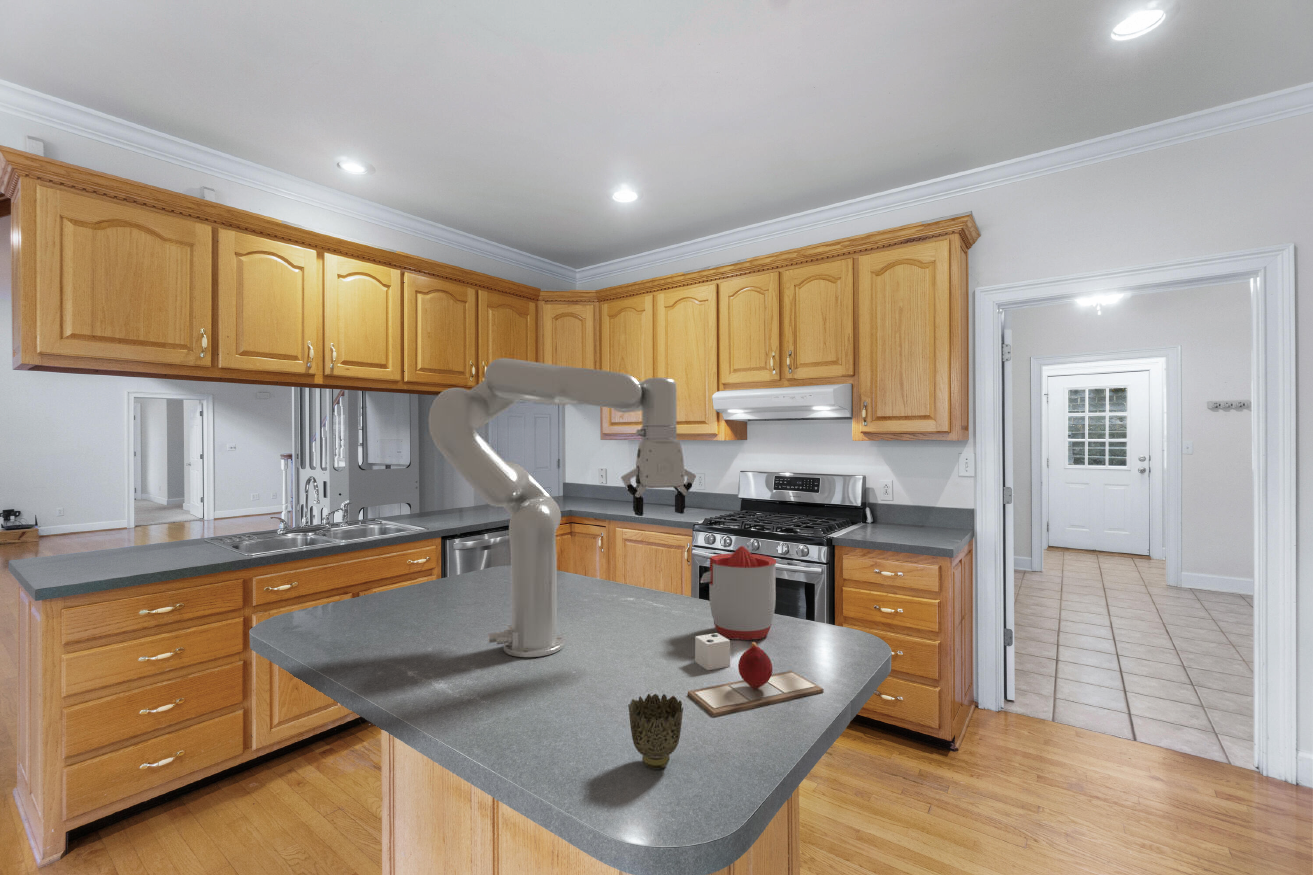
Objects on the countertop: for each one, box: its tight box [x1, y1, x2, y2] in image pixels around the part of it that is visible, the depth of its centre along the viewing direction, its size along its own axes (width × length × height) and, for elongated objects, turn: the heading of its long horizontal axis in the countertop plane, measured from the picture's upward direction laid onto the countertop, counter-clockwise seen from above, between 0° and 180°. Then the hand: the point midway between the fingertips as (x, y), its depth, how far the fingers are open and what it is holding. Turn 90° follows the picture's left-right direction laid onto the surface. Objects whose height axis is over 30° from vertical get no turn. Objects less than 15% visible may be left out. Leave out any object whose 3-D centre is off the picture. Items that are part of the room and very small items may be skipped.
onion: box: [737, 641, 774, 689], centre depth 100 cm, size 6×6×8 cm
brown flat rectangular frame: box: [687, 670, 825, 717], centre depth 100 cm, size 22×9×1 cm, turn 114°
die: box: [694, 632, 731, 671], centre depth 114 cm, size 5×5×5 cm
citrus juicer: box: [700, 545, 778, 641], centre depth 133 cm, size 16×17×20 cm
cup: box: [628, 693, 684, 770], centre depth 78 cm, size 8×7×8 cm
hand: (659, 514), depth 125 cm, fingers open, 9 cm apart
